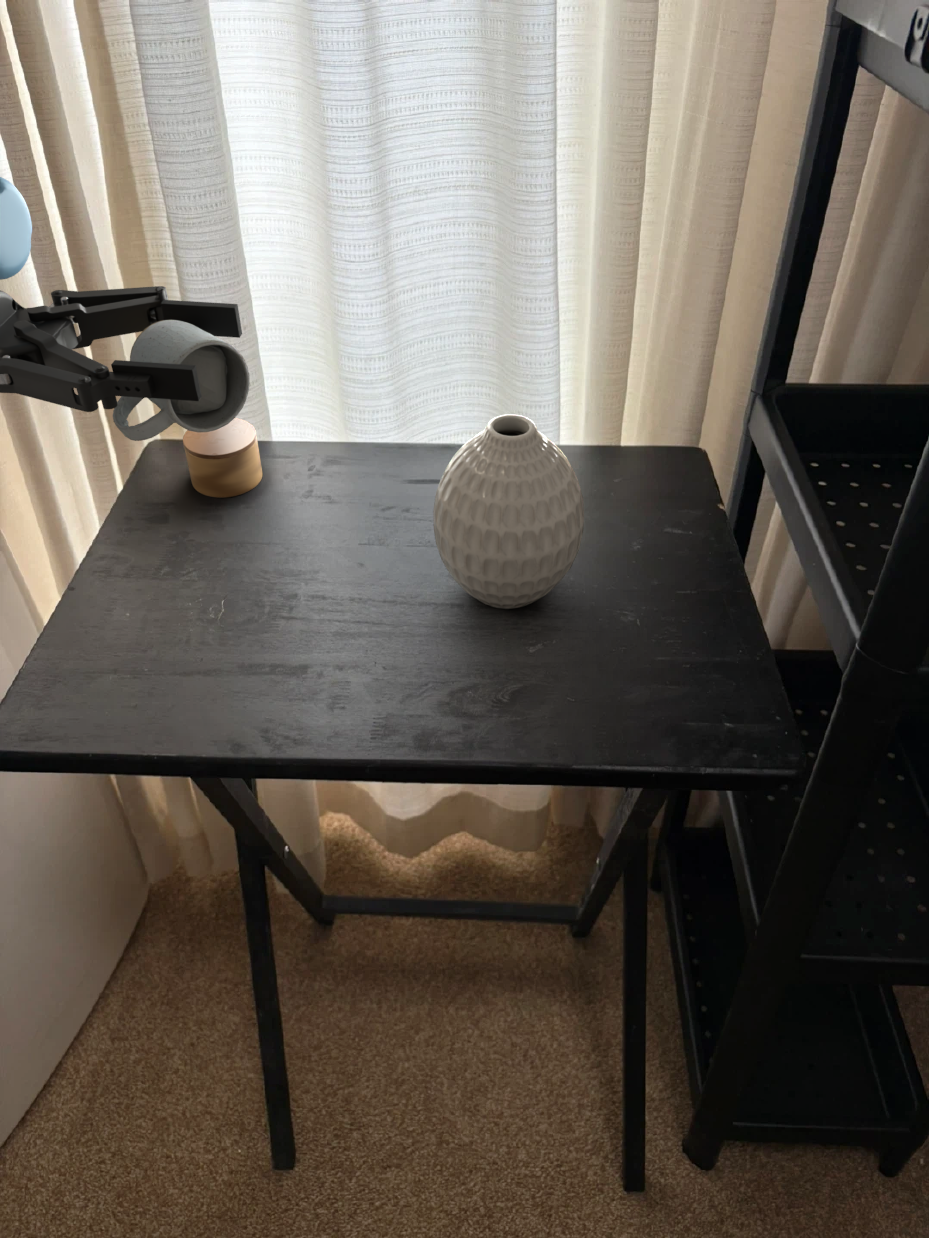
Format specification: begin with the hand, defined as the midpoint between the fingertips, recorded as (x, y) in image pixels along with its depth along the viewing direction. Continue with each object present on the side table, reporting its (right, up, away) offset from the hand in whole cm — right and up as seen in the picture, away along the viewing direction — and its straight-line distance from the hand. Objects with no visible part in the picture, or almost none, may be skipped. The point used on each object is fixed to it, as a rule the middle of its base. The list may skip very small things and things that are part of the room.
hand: (218, 350), depth 84 cm
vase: (+24, -19, +9) cm, 32 cm away
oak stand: (-4, -7, +22) cm, 24 cm away
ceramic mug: (-4, -5, +4) cm, 7 cm away
